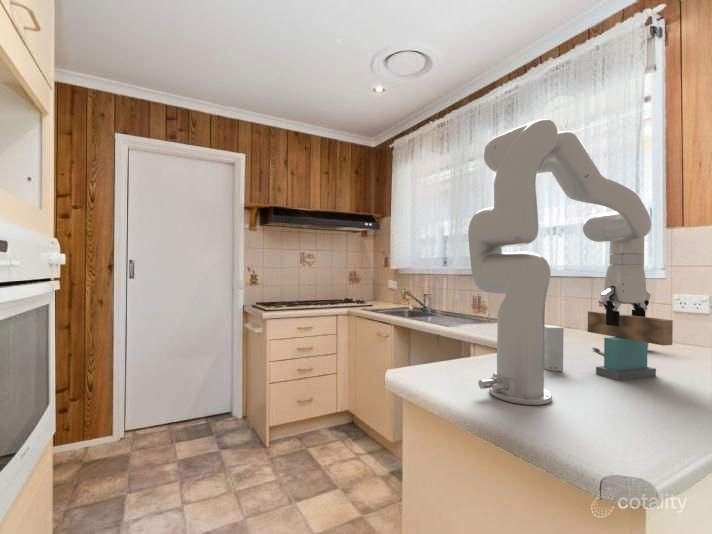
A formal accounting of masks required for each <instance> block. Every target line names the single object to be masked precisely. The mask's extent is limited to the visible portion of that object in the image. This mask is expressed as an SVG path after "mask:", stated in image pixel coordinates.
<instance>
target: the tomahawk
mask: <svg viewBox="0 0 712 534" xmlns="http://www.w3.org/2000/svg"><path fill="white" fill-rule="evenodd" d="M592 350H594V352H595V353H596V354H598V355H600V356H602V357H604V352H602V351H601V350H600V349H599V348H596V347H592Z"/></svg>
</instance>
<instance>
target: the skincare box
mask: <svg viewBox="0 0 712 534" xmlns="http://www.w3.org/2000/svg"><path fill="white" fill-rule="evenodd" d="M564 330H565V329H564V328H563V327H561V326H558V325H556V324H555V325H554V324H544V370H547V371H549V372H550V371H553V372H563V371H564Z"/></svg>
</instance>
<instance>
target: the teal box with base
mask: <svg viewBox="0 0 712 534" xmlns="http://www.w3.org/2000/svg"><path fill="white" fill-rule="evenodd" d="M603 340H604V343H603V344H604V346H603V347H604V349H603V353H604V356H603V361H604V362H603V365H601V366H599V365H598V366H597V365H596V366H595V374H596V375H597V376H601V377H605V378H608V379H613V380H615V381H626V380H634V379H641V378H642V379H643V378H651V377H657V368H655V367H651V366H648V349H647V343H646V342H641V341H635V340H630V339H624V338H619V337H613V336H608V337H604V338H603Z"/></svg>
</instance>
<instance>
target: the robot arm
mask: <svg viewBox="0 0 712 534" xmlns="http://www.w3.org/2000/svg"><path fill="white" fill-rule="evenodd" d="M482 157H483V161H484V162H485V163H484V164H485V165H486V166H487V168H489V169H490V170H491V171H493V172H495V174H494V179H493V201H494V202H493V206H491V207H487V208H483V209H480V210H479V211H477V212H475V214H474V215H473V216H472V217H471V219H470V222H469V225H468V231H467V236H468V237H467V238H468V249H469V250H468V251H469V261H470V270H471V277H472V280H473V282H474V284H475V286H476V287H477V288H478V289H479V290H480V291H483V292H485V293H489V294H490V293H492V294H499V295H500V294H501V295H505V296H504V298H503V299H502V301H501V303H500V305H499V307H498V311H497V318H496V319H497V326H496V328H497V330H496V332H497V333H496V337H497V338H496V339H497V340H496V341H497V342H496V372H493V373H492V377H490V378H488V379H487V378H484V379H479V380H478V383H477V384H478V387H479V389H480V390H481V389H482V390H486V389H489V393H490V394H491V395H492V396H493V397H494V398H497V399H500V400H502V401H505V402H509V403H513V404H520V405H524V406H525V405H526V406H541V405H547V404H549V403H551V402H552V400H553V395H552V393H551V392H550V391H549V390H548V389H546V388H545V368H544V325H545V317H546V315H545V314H546V312H545V311H546V301H547V293H548V290H549V285H550V282H551V275H552V274H551V273H552V272H551V267H550V264H549V262H548V261H547V260H546V259H545V257H543V256H542V255H540V254H539V253H535V252H532V251H531V252H530V251H529V252H528V251H517V252H514V251H513V252H511V251H510V252H503V251H502V250H503V248H508V247H519V246H525V245H528V244H531V243H532V242H534V241H536V239H537V237H538V234H539V214H538V213H539V211H538V199H537V176H538V175H542V174H546V173H550V174H551V175H552V177H553V178H554V179H555V182H557V184H558V185H559V186H560V188H561V190H562V192H563V193H564V194H565V196H566V197H567V198H568V199H571V200H573V201H576V202H581V203H584V204H585V203H586V204H593V205H599V206H602V207H606V208H608V209H611V210H613V211H610V212H604V213H603V212H602V213H597V214H593V215H590V216H588V218H586V220H585V221H584V223H583V225H582V232H583V234H584V235H585V237H586V238H587V239H589V240H590V241H593V242H597V243H603V242H604V243H606V242H609V266H607V269H606V274H605V279H604V290H603V291H602V292H601V293H600V296H599V297H600V299H601V301H602V304H601V305H603V306H604V310H605V312H606V325H610V326H619V314H620V310H619V308H620V306H621V305H627V304H628V305H631V307H632V309H631V315H632V316H641V317H645V316H646V311H647V310H648V305H649V304H650V302H649V301H650V299H651V296H652V295H651V293H650V292H648V291H647V285H646V283H647V282H646V280H647V279H646V273H645V272H646V271H645V268H644V267H645V237H646V236H647V235H648V234H649V233H650V231H651V227H652V221H651V217H650V214H649V212H648V210H647V208H646V206H645V204H644V203H643V201H642V200H641V197H640V196H639V195H638V194H637V193H636V192H634V191H633V190H632V189H630V188H629V187H627V186H625V185H623V184H621V183H619V182H618V181H614V180H612V179H610V178H608V177H604V176H603V175H602V173H601V172H600V171H599V168H598V167H597V166H596V164H595V162H594V160H593V159H592V158H591V156H590V155H589V152H588V150H587V149H586V147H585V146H584V143H582V141H581V139H580V138H579V136H578V135H576V134H575V133H574V132H572V131H559V128H558V125H557V123H555V121H554V120H552V119H547V118H544V119H538V120H534V121H530V122H528V123H526V124H522V125H520V126H519V127H515V128H514V129H512V130H510V131H507V132H505V133H502V134H499V135H497V136H496V137H493V138H492V139H490V140H489V141H488V142H487V143H486V144H485V147H484V149H483V155H482Z"/></svg>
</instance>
